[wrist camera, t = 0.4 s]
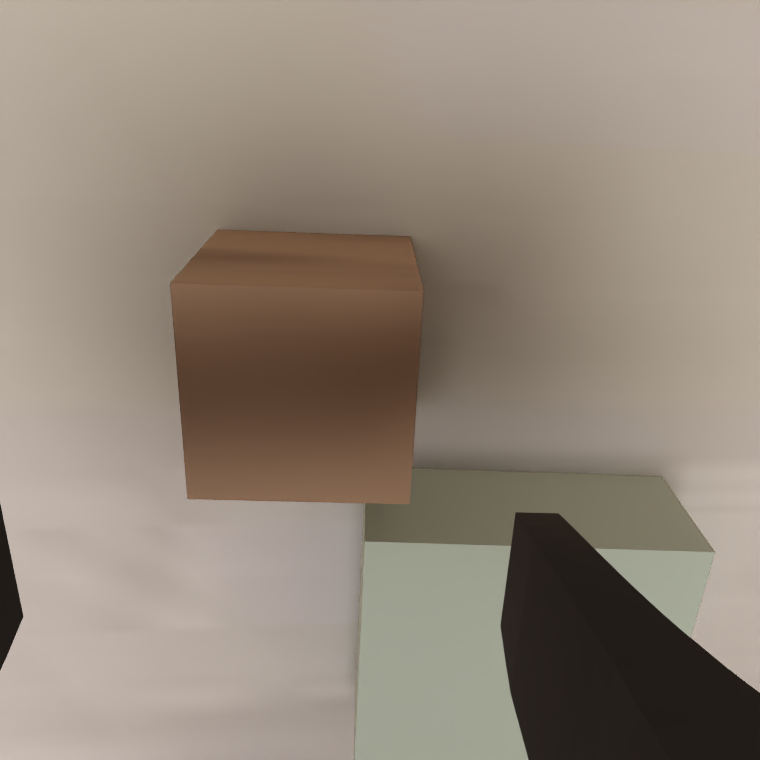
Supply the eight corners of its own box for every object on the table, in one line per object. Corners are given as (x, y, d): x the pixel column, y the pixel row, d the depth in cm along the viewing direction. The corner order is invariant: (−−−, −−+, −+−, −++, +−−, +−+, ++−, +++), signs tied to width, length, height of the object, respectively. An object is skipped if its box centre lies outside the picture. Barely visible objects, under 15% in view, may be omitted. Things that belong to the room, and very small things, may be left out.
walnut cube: (400, 407, 21) (410, 504, 16) (227, 402, 21) (187, 498, 16) (410, 235, 19) (423, 291, 14) (218, 229, 19) (169, 283, 14)
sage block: (606, 688, 26) (646, 791, 22) (355, 682, 26) (352, 785, 22) (658, 471, 22) (715, 552, 19) (365, 461, 22) (364, 541, 18)
